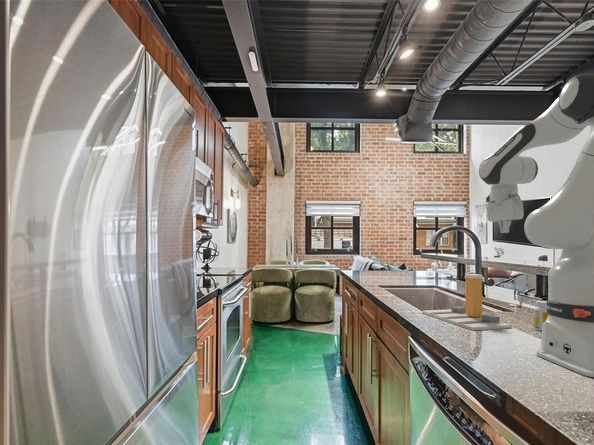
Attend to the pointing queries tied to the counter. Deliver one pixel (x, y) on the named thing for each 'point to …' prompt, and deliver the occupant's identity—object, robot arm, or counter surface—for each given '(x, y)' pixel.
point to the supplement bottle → (540, 315)
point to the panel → (467, 319)
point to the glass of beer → (473, 295)
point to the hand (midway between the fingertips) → (504, 232)
